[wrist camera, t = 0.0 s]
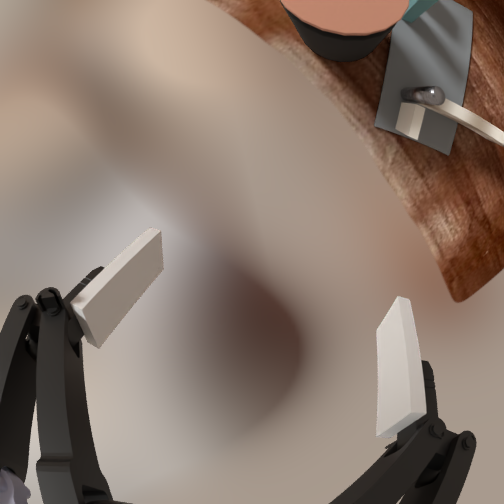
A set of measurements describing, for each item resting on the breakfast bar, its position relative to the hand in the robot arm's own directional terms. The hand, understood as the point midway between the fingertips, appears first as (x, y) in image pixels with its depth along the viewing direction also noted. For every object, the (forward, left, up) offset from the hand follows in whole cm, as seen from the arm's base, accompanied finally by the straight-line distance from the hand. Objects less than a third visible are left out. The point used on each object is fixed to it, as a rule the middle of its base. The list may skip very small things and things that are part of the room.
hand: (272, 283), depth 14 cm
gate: (-13, +19, -27) cm, 35 cm away
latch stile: (-26, +9, -28) cm, 39 cm away
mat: (-20, +13, -28) cm, 37 cm away
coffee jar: (-20, 0, -28) cm, 35 cm away
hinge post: (-13, +11, -28) cm, 33 cm away
